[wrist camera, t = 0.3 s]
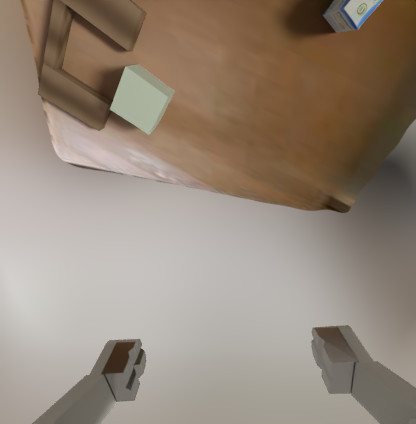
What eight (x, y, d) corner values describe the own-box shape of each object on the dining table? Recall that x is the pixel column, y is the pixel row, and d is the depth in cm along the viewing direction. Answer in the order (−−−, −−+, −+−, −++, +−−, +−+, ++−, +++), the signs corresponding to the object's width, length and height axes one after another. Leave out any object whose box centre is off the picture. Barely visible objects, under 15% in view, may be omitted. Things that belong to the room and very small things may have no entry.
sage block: (138, 64, 47) (125, 66, 40) (175, 91, 49) (168, 97, 43) (123, 102, 51) (109, 109, 45) (157, 124, 54) (149, 134, 48)
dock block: (72, -48, 37) (62, -55, 35) (146, 13, 41) (141, 10, 39) (46, 92, 51) (37, 94, 48) (104, 127, 55) (98, 131, 53)
